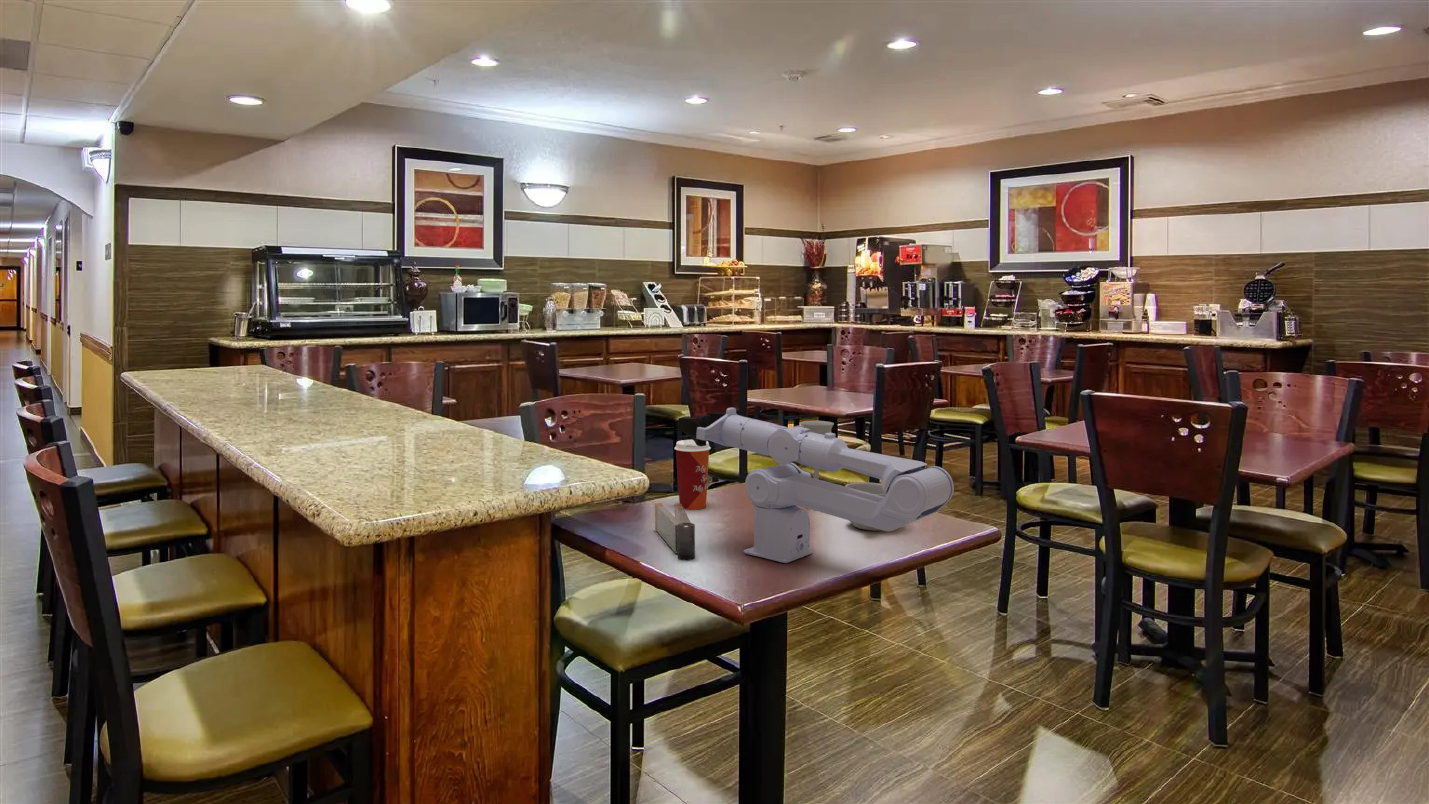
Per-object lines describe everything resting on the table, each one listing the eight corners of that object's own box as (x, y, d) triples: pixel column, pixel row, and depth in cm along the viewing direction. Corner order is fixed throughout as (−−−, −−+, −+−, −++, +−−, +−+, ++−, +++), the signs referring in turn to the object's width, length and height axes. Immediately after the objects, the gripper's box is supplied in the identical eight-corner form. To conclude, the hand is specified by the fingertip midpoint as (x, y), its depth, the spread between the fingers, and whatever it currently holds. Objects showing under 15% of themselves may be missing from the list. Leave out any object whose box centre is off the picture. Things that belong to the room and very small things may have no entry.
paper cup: (706, 511, 189) (706, 445, 188) (670, 510, 191) (670, 444, 189) (714, 503, 197) (714, 439, 195) (679, 501, 198) (679, 438, 197)
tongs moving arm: (682, 552, 159) (681, 524, 159) (675, 553, 159) (675, 525, 158) (661, 528, 175) (660, 503, 175) (655, 528, 175) (654, 503, 174)
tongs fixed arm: (696, 559, 156) (695, 526, 155) (678, 560, 156) (678, 527, 155) (681, 528, 176) (681, 499, 175) (666, 529, 176) (666, 500, 175)
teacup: (856, 517, 185) (857, 478, 184) (908, 524, 179) (909, 484, 178) (828, 533, 173) (829, 492, 172) (883, 541, 167) (883, 498, 166)
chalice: (792, 506, 194) (793, 422, 192) (813, 501, 199) (814, 419, 196) (818, 512, 189) (819, 426, 186) (839, 507, 193) (840, 423, 191)
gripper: (776, 408, 166) (720, 396, 174) (725, 417, 155) (667, 403, 163) (773, 446, 167) (718, 432, 175) (722, 457, 156) (665, 441, 165)
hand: (693, 421), depth 169 cm, fingers open, 7 cm apart
